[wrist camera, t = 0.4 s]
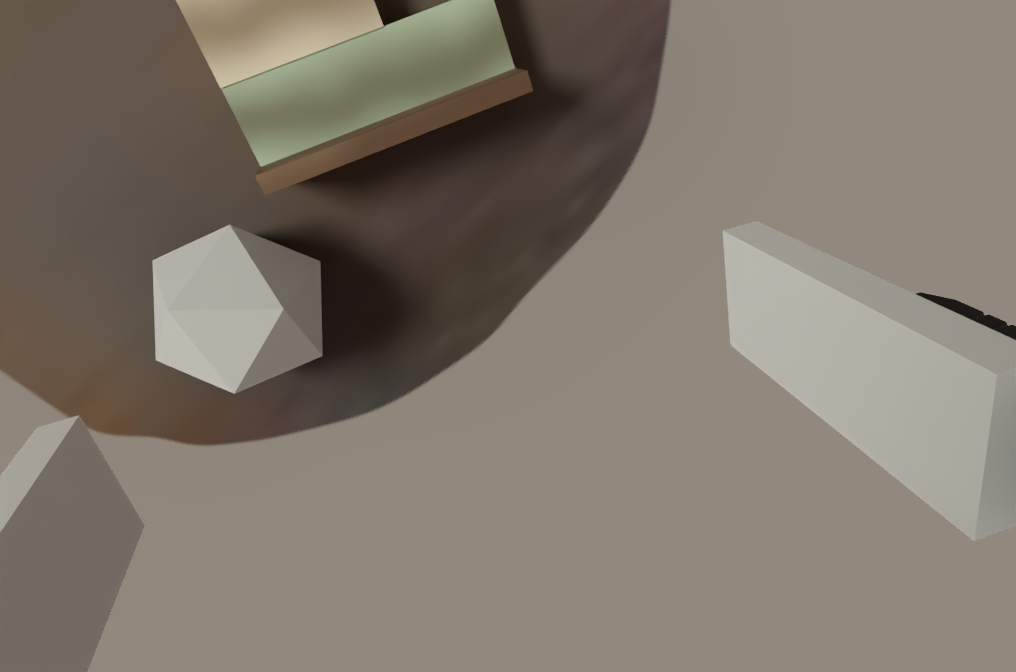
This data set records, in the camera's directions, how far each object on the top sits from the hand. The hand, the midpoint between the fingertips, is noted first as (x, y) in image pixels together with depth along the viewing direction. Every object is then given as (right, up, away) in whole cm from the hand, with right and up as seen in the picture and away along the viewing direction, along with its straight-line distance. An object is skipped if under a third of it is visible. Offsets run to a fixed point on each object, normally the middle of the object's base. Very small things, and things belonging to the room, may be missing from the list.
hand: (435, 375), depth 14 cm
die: (-13, +4, +25) cm, 29 cm away
